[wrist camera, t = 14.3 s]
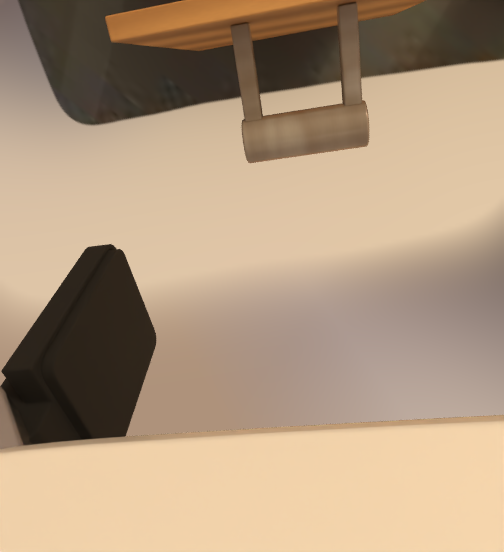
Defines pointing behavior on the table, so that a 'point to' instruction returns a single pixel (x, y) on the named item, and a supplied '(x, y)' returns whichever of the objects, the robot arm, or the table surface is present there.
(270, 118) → the bin lid
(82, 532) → the robot arm
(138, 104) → the table surface
